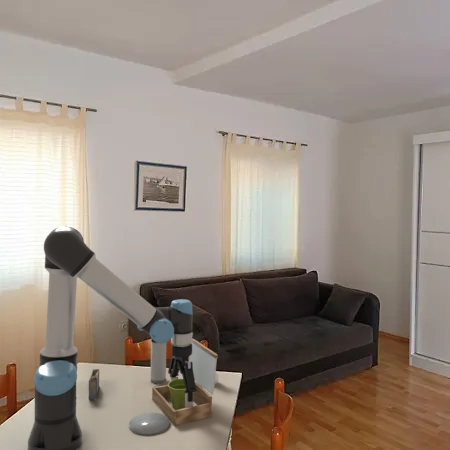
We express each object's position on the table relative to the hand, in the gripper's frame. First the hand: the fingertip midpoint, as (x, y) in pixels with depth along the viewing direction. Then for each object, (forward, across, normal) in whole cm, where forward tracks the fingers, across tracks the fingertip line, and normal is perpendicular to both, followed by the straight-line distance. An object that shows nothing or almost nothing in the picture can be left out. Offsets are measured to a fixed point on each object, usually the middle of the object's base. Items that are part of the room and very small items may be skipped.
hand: (181, 402), depth 157 cm
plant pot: (+2, 0, 0) cm, 2 cm away
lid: (-12, 0, -7) cm, 14 cm away
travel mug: (+2, +27, -1) cm, 27 cm away
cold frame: (+2, 0, 0) cm, 2 cm away
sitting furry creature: (+2, +16, -19) cm, 25 cm away
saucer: (+2, -7, +14) cm, 16 cm away
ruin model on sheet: (+2, +26, +25) cm, 36 cm away
